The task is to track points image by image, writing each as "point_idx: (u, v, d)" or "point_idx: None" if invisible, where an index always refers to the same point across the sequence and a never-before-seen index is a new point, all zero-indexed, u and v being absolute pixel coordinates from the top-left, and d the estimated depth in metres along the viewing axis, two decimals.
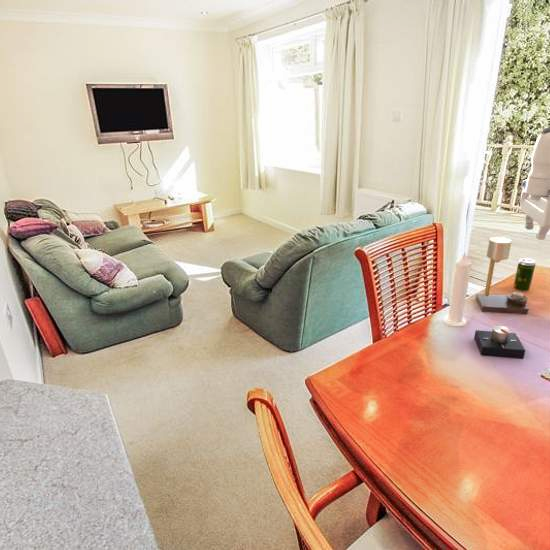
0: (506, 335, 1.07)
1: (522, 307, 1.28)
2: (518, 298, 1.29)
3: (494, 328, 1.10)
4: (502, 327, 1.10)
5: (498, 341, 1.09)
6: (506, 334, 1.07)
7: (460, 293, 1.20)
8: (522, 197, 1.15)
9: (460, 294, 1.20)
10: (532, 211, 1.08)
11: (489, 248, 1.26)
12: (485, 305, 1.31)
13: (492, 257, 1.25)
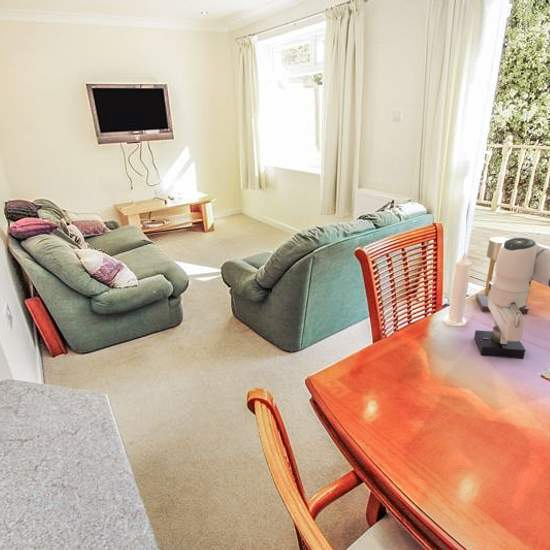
0: None
1: (522, 307, 1.28)
2: None
3: (494, 328, 1.10)
4: None
5: (498, 341, 1.09)
6: None
7: (460, 293, 1.20)
8: (489, 296, 1.15)
9: (460, 294, 1.20)
10: (497, 316, 1.07)
11: (489, 248, 1.26)
12: (485, 305, 1.31)
13: (492, 257, 1.25)
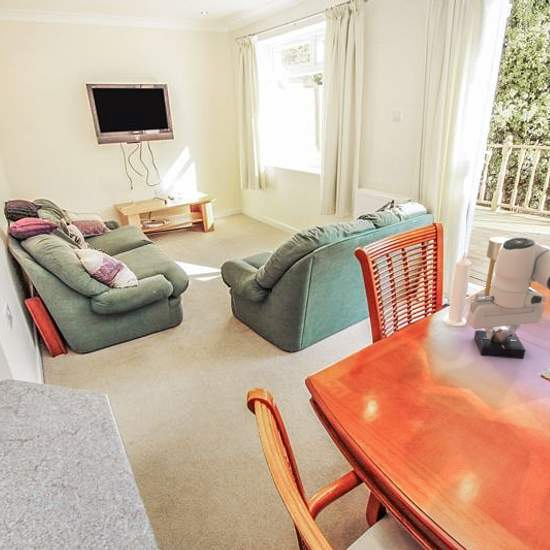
0: (496, 334, 1.09)
1: None
2: None
3: None
4: (506, 330, 1.09)
5: None
6: (496, 332, 1.08)
7: (460, 293, 1.20)
8: None
9: (460, 294, 1.20)
10: None
11: (489, 248, 1.26)
12: None
13: (492, 257, 1.25)
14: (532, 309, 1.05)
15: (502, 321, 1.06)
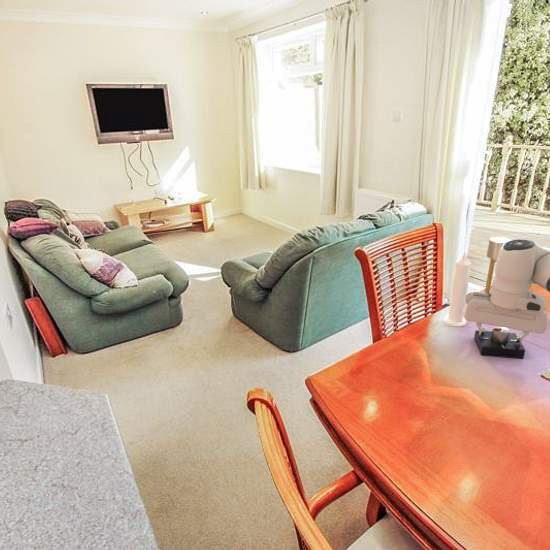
0: (492, 331, 1.10)
1: None
2: None
3: None
4: (505, 331, 1.08)
5: None
6: (493, 330, 1.10)
7: (460, 293, 1.20)
8: None
9: (460, 294, 1.20)
10: None
11: (489, 248, 1.26)
12: None
13: (492, 257, 1.25)
14: (535, 318, 1.02)
15: (497, 321, 1.07)
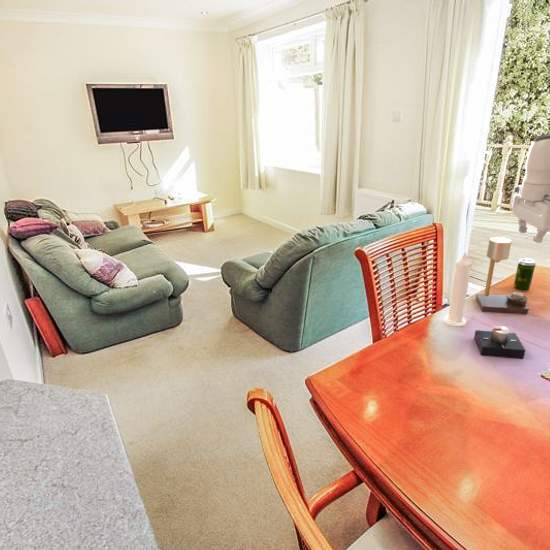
0: (492, 331, 1.10)
1: (522, 307, 1.28)
2: (518, 298, 1.29)
3: (503, 326, 1.10)
4: (505, 331, 1.08)
5: None
6: (493, 330, 1.10)
7: (460, 293, 1.20)
8: (514, 202, 1.20)
9: (460, 294, 1.20)
10: (528, 215, 1.12)
11: (489, 248, 1.26)
12: (485, 305, 1.31)
13: (492, 257, 1.25)
14: None
15: None
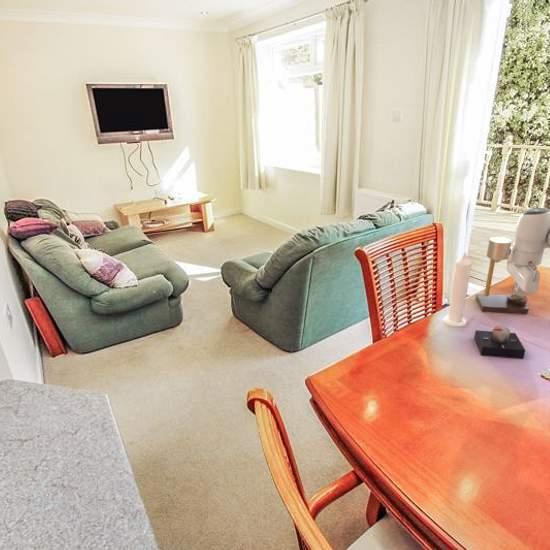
0: (492, 331, 1.10)
1: (522, 307, 1.28)
2: (518, 298, 1.29)
3: (503, 326, 1.10)
4: (505, 331, 1.08)
5: None
6: (493, 330, 1.10)
7: (460, 293, 1.20)
8: (508, 260, 1.35)
9: (460, 294, 1.20)
10: (516, 275, 1.27)
11: (489, 248, 1.26)
12: (485, 305, 1.31)
13: (492, 257, 1.25)
14: None
15: None
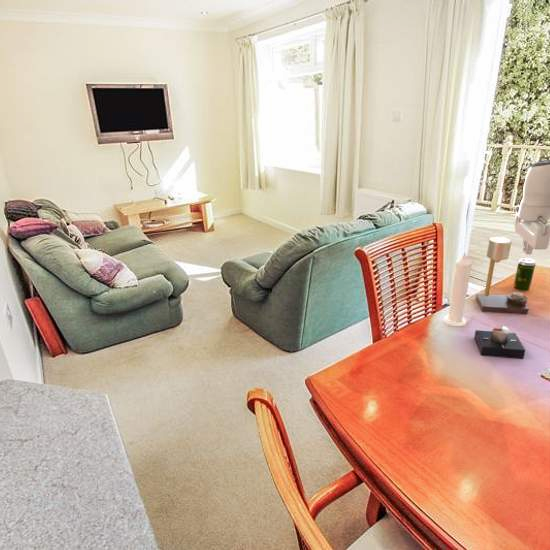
0: (492, 331, 1.10)
1: (522, 307, 1.28)
2: (518, 298, 1.29)
3: (503, 326, 1.10)
4: (505, 331, 1.08)
5: None
6: (493, 330, 1.10)
7: (460, 293, 1.20)
8: (516, 220, 1.30)
9: (460, 294, 1.20)
10: (525, 233, 1.23)
11: (489, 248, 1.26)
12: (485, 305, 1.31)
13: (492, 257, 1.25)
14: None
15: None
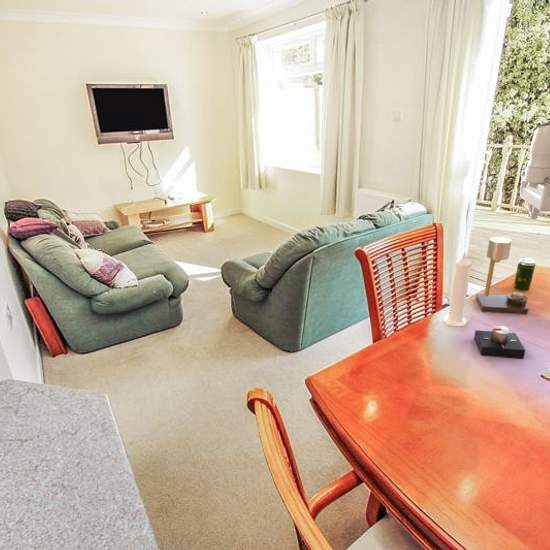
0: (492, 331, 1.10)
1: (522, 307, 1.28)
2: (518, 298, 1.29)
3: (503, 326, 1.10)
4: (505, 331, 1.08)
5: None
6: (493, 330, 1.10)
7: (460, 293, 1.20)
8: (522, 185, 1.28)
9: (460, 294, 1.20)
10: (531, 197, 1.21)
11: (489, 248, 1.26)
12: (485, 305, 1.31)
13: (492, 257, 1.25)
14: None
15: None
